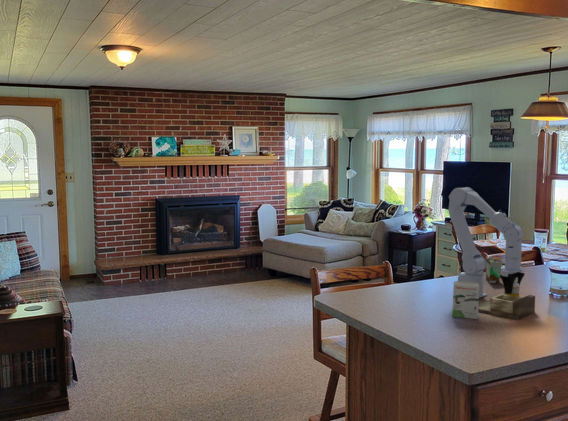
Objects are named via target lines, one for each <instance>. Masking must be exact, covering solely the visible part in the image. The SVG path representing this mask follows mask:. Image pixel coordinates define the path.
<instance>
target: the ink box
mask: <svg viewBox="0 0 568 421" xmlns="http://www.w3.org/2000/svg"><path fill="white" fill-rule="evenodd" d="M452 293H453V294H452V309H451V310H452V311H451V312H452V317H453V318H462V319H463V318H464V319H474V320H479V319H478V318H479V312H478V304H479V301H480V300H479V299H480V298H479V284H478V283H472V282H460V281H458V280H456V281H453V292H452Z"/></svg>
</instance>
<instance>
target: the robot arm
mask: <svg viewBox="0 0 568 421" xmlns="http://www.w3.org/2000/svg"><path fill="white" fill-rule="evenodd" d="M448 199H449V202H448V209H447V210H448V214H449V217H450V220H451V223H452V225H453V228H454V231H455V234H456V237H457V239H458V242H459V245H460V248H461V251H462V256H461V261H462V270H463V271H462V272H460V273H459V275H458V277H457V281H460V282H472V283H478V284H479V299H480V298H482V297H486V296H488V294H487V293H485V292H484V281H485V280H484V278H485V277H484V276H485V274H484V273H485V272H484V270H486V258H484V257H483V256H482V254H481V251H480V250H479V249H478V248H477V247H476V244H475V241H474V239H473V236H472V234H471V231H470V228H469V225H468V222H467V220H466V217H465V214H464V211H465V209H466V208H467V206H469V205H470V206H474V207H475V208H476V209H478V210H479V211H480V212H482V213H483V214H484V215H485V216H486V217H487V218H489V223H490V224H491V225H492V226H493V227H494V228H495V229H497V230H498V232H499V233H501V234H503V239H504V240H505V249H504V250H505V253H504V256H505V257H504V268H503V270H501V273H500V279H501V281H502V284H503V288H504V289H505V293H508V294H511V293H512V289H513V284H514V281H515V279H516V277H517V278H518V282H517V283H519V285H520V286H521V282H522V280H523V278H524V277H525V270H524V266H522V251H523V249H522V248H523V247H522V245H523V244H522V243H523V242H522V239H523V238H524V236H525V230H524V229H523V227H522V226H520V225H519V224H517V223H516V222H515V221H514V222H513V221H511V219H509V218H508V216H507V214H506V213H505V212H501V211H495V210H494V209H493V207H491V206H490V204H488V203H487V202H486V201H485V200H484V199H483V197H482V196H480V195H479V193H478V192H476V191H475V190H474V189H473V188H471V187H470V186H469V187H468V186H466V187H455V188H454V189H452V191H451V192H450V194H449V195H448ZM516 224H517V225H516Z"/></svg>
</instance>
